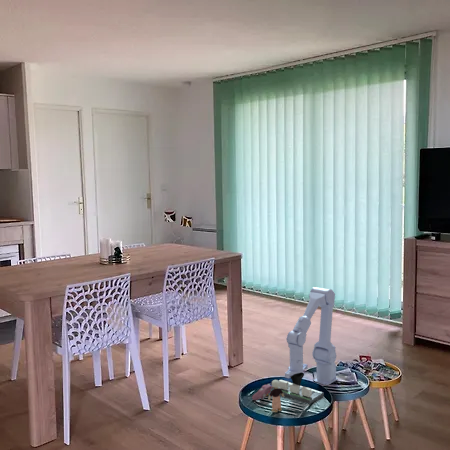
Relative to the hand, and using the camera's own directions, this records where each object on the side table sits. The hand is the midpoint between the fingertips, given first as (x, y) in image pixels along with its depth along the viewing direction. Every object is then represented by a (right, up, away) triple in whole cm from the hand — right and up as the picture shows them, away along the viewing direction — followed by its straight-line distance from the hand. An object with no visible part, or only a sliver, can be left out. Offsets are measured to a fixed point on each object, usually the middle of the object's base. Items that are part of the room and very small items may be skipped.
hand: (296, 389), depth 222 cm
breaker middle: (-1, -1, -1) cm, 2 cm away
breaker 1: (-5, -1, +3) cm, 6 cm away
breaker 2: (+4, -1, -5) cm, 6 cm away
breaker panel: (+1, -3, +1) cm, 3 cm away
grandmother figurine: (-11, -4, -14) cm, 18 cm away
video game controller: (-15, -3, -2) cm, 15 cm away
